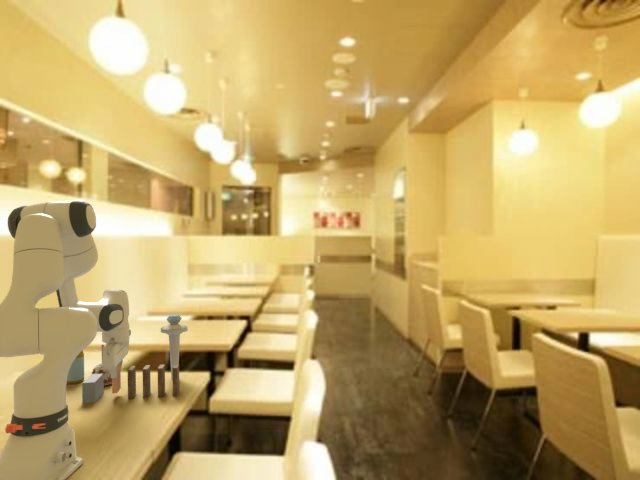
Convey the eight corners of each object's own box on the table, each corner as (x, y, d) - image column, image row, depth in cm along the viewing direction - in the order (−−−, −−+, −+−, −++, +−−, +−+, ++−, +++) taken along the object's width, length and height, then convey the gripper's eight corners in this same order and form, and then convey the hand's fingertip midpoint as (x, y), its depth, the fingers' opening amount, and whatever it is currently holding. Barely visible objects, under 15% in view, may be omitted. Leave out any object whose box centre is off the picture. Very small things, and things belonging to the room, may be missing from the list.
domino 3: (150, 392, 172) (150, 365, 172) (147, 397, 167) (147, 368, 167) (145, 393, 172) (145, 365, 171) (143, 397, 167) (142, 369, 166)
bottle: (81, 377, 190) (81, 340, 190) (86, 381, 185) (85, 343, 184) (62, 381, 186) (61, 342, 185) (66, 385, 180) (65, 345, 180)
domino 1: (120, 388, 170) (120, 360, 170) (117, 393, 165) (116, 364, 165) (115, 388, 170) (115, 360, 170) (112, 393, 165) (111, 364, 165)
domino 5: (179, 391, 173) (179, 363, 173) (177, 395, 168) (177, 367, 168) (174, 391, 173) (174, 363, 173) (172, 396, 168) (172, 367, 168)
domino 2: (136, 393, 171) (135, 365, 171) (132, 398, 166) (132, 369, 166) (131, 393, 171) (130, 365, 171) (127, 398, 166) (127, 369, 166)
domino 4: (165, 392, 173) (164, 364, 172) (162, 396, 168) (162, 368, 167) (160, 392, 172) (160, 364, 172) (157, 396, 167) (157, 368, 167)
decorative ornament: (87, 386, 180) (86, 346, 179) (102, 380, 187) (102, 341, 187) (103, 388, 177) (103, 347, 177) (118, 381, 185) (118, 343, 184)
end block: (95, 402, 162) (94, 382, 162) (82, 403, 161) (82, 382, 161) (103, 393, 172) (103, 373, 172) (91, 393, 171) (91, 374, 171)
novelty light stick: (187, 373, 194) (186, 312, 194) (188, 381, 185) (187, 316, 184) (161, 376, 191) (160, 313, 191) (161, 383, 182) (160, 318, 181)
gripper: (117, 342, 158) (118, 383, 158) (131, 329, 178) (132, 366, 178) (97, 342, 157) (97, 384, 157) (114, 329, 177) (114, 367, 177)
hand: (116, 374), depth 168 cm, fingers closed on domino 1, 5 cm apart
